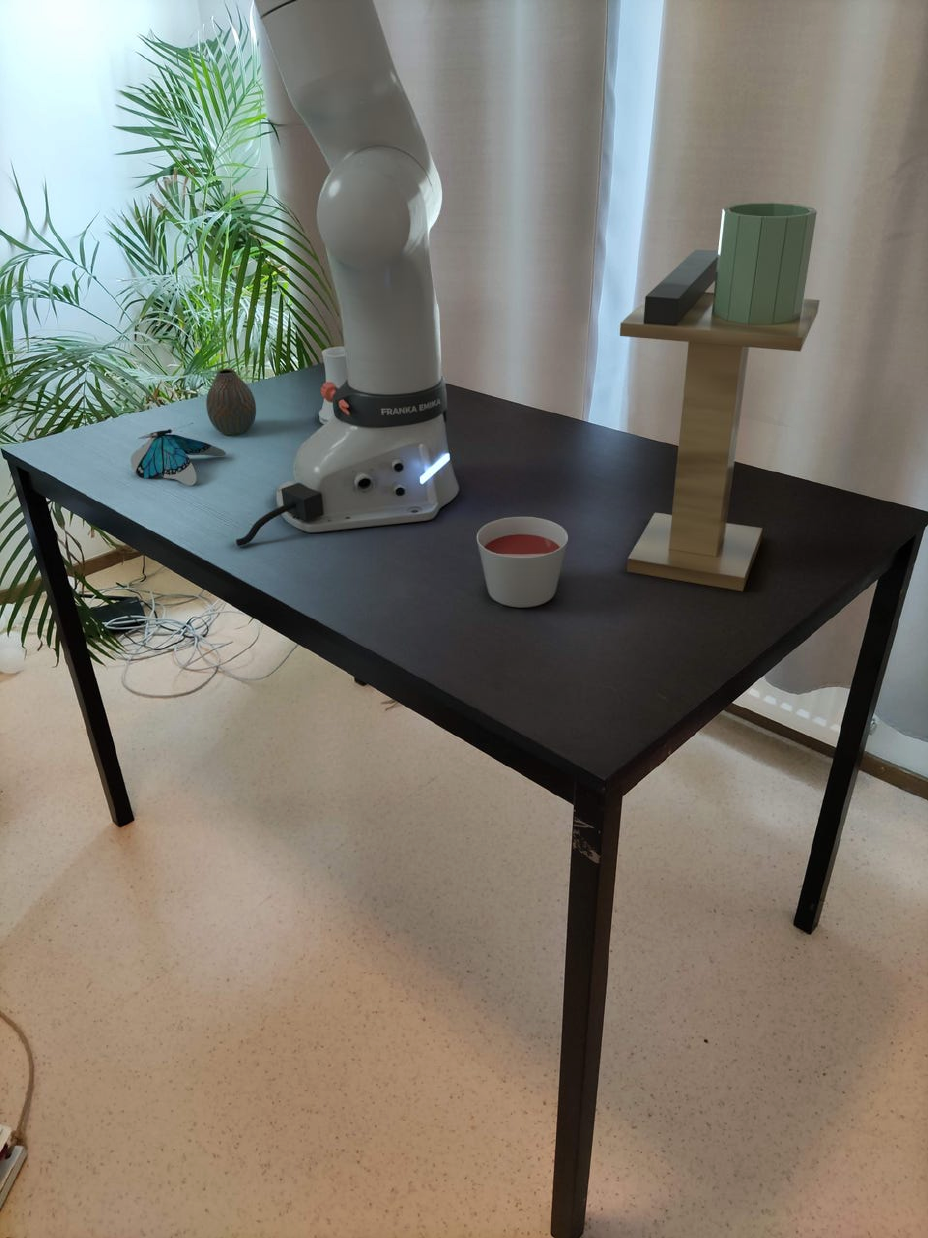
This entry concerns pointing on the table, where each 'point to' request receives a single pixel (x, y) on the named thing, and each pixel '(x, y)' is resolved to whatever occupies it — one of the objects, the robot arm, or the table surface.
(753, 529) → the birch stand
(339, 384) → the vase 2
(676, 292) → the black bar
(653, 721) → the table surface
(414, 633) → the table surface
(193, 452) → the decorative butterfly
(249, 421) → the vase
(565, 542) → the white sauce bowl
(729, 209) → the green cup
